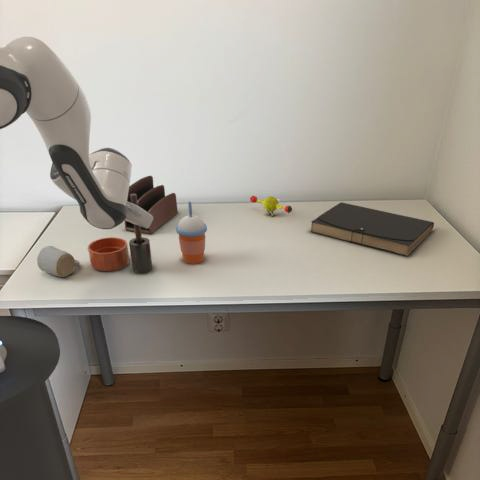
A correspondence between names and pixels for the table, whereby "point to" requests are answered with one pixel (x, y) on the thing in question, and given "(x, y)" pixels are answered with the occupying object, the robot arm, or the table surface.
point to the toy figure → (271, 204)
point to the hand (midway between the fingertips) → (138, 222)
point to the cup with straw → (192, 237)
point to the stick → (137, 228)
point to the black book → (372, 228)
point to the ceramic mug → (56, 261)
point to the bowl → (108, 254)
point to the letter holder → (152, 203)
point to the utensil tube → (141, 256)
